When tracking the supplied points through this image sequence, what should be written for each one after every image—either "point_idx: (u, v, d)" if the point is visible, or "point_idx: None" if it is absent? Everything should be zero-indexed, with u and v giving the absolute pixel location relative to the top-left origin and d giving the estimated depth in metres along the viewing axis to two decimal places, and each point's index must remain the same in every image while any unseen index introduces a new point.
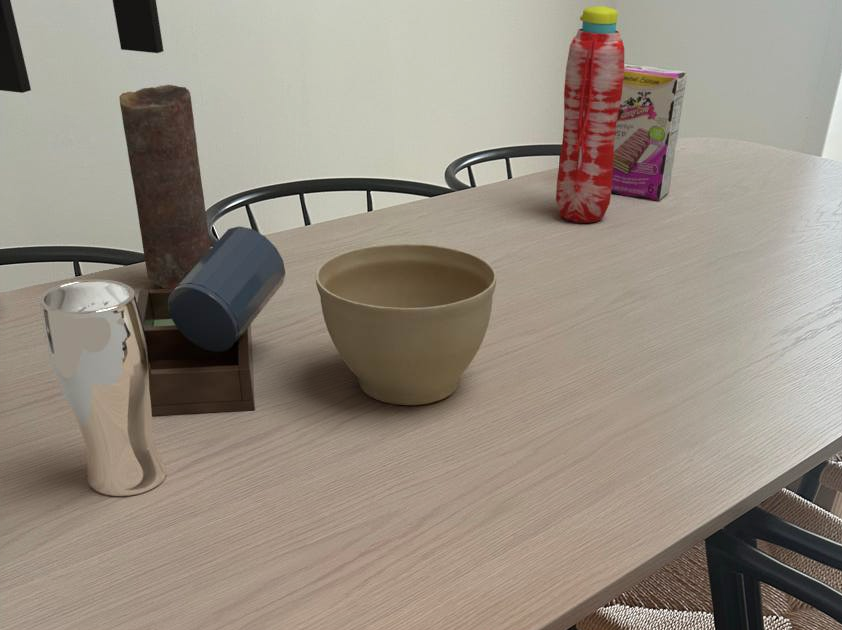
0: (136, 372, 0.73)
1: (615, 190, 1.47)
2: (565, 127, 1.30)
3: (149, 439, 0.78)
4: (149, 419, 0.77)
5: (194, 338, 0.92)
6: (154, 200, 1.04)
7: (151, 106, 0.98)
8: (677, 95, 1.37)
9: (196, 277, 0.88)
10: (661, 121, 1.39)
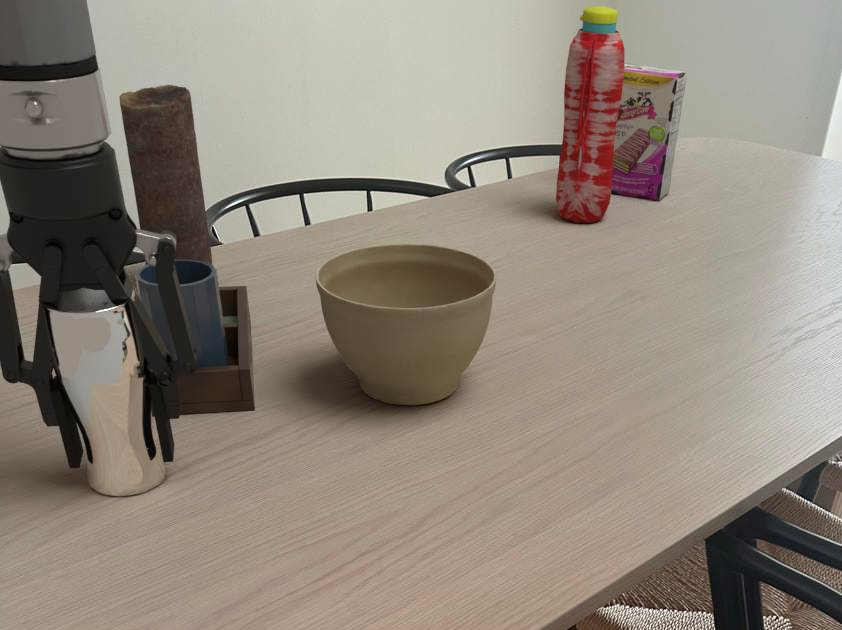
0: (136, 372, 0.73)
1: (615, 190, 1.47)
2: (565, 127, 1.30)
3: (149, 439, 0.78)
4: (149, 419, 0.77)
5: None
6: (154, 200, 1.04)
7: (151, 106, 0.98)
8: (677, 95, 1.37)
9: None
10: (661, 121, 1.39)
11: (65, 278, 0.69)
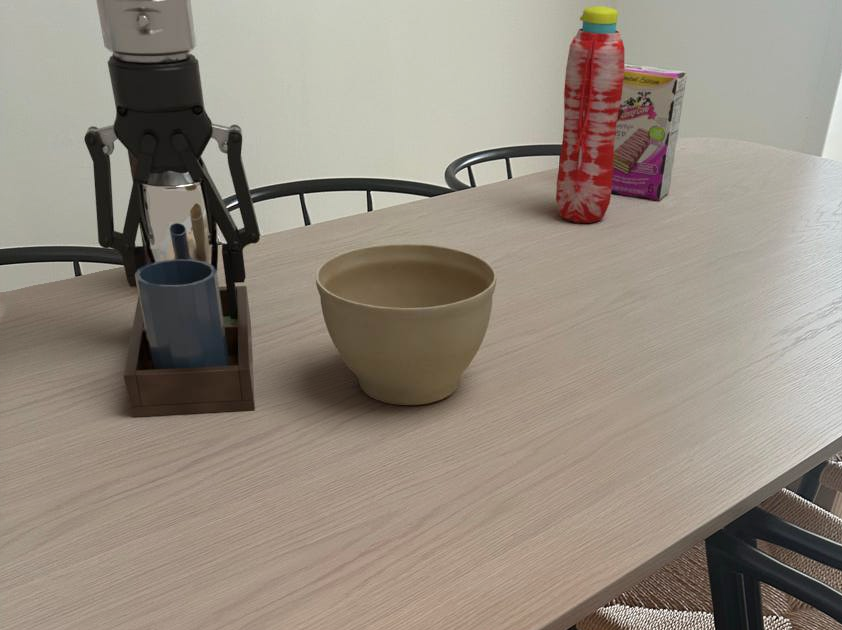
0: (208, 239, 0.93)
1: (615, 190, 1.47)
2: (565, 127, 1.30)
3: None
4: None
5: None
6: None
7: None
8: (677, 95, 1.37)
9: None
10: (661, 121, 1.39)
11: (156, 162, 0.89)
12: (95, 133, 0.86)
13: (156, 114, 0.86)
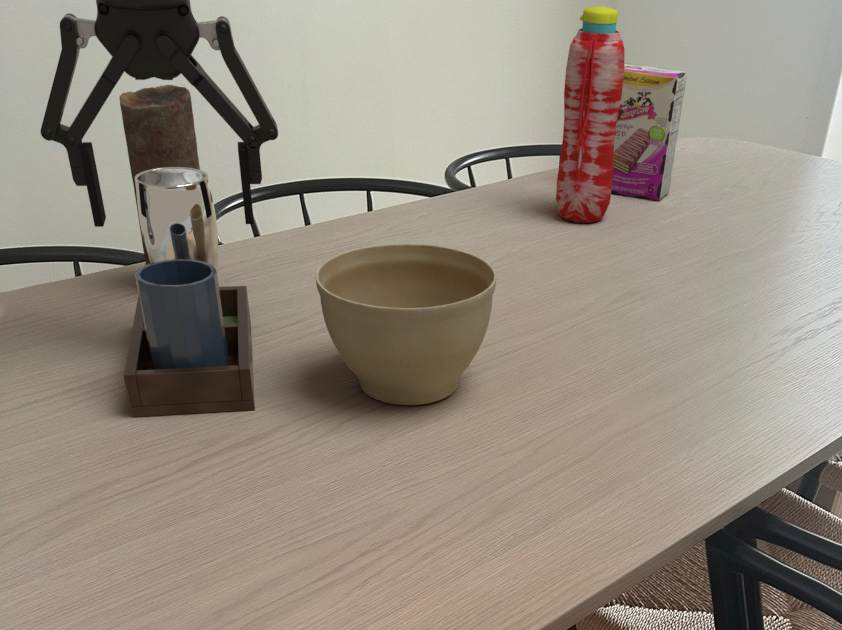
0: (208, 239, 0.93)
1: (615, 190, 1.47)
2: (565, 127, 1.30)
3: None
4: None
5: None
6: None
7: (151, 106, 0.98)
8: (677, 95, 1.37)
9: None
10: (661, 121, 1.39)
11: (139, 67, 0.84)
12: (73, 21, 0.81)
13: (139, 14, 0.81)
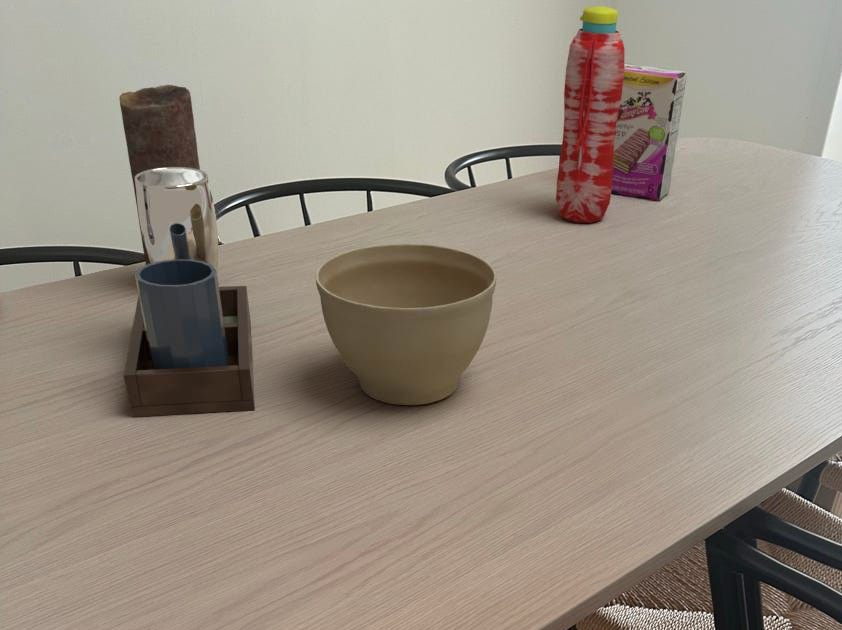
0: (208, 239, 0.93)
1: (615, 190, 1.47)
2: (565, 127, 1.30)
3: None
4: None
5: None
6: None
7: (151, 106, 0.98)
8: (677, 95, 1.37)
9: None
10: (661, 121, 1.39)
11: None
12: None
13: None
